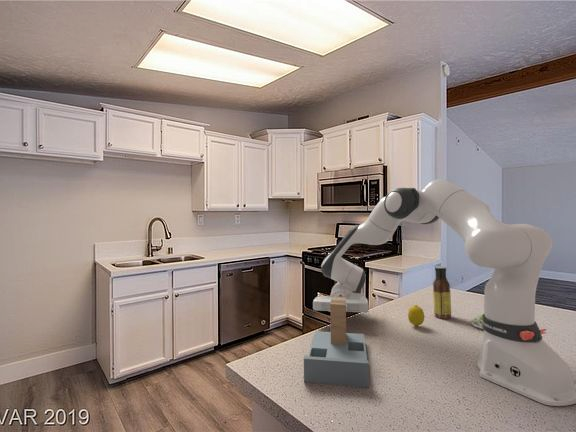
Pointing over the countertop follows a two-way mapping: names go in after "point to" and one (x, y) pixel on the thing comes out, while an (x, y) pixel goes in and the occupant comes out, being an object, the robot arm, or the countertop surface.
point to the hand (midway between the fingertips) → (339, 311)
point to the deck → (337, 361)
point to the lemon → (416, 315)
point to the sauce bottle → (441, 294)
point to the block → (338, 320)
